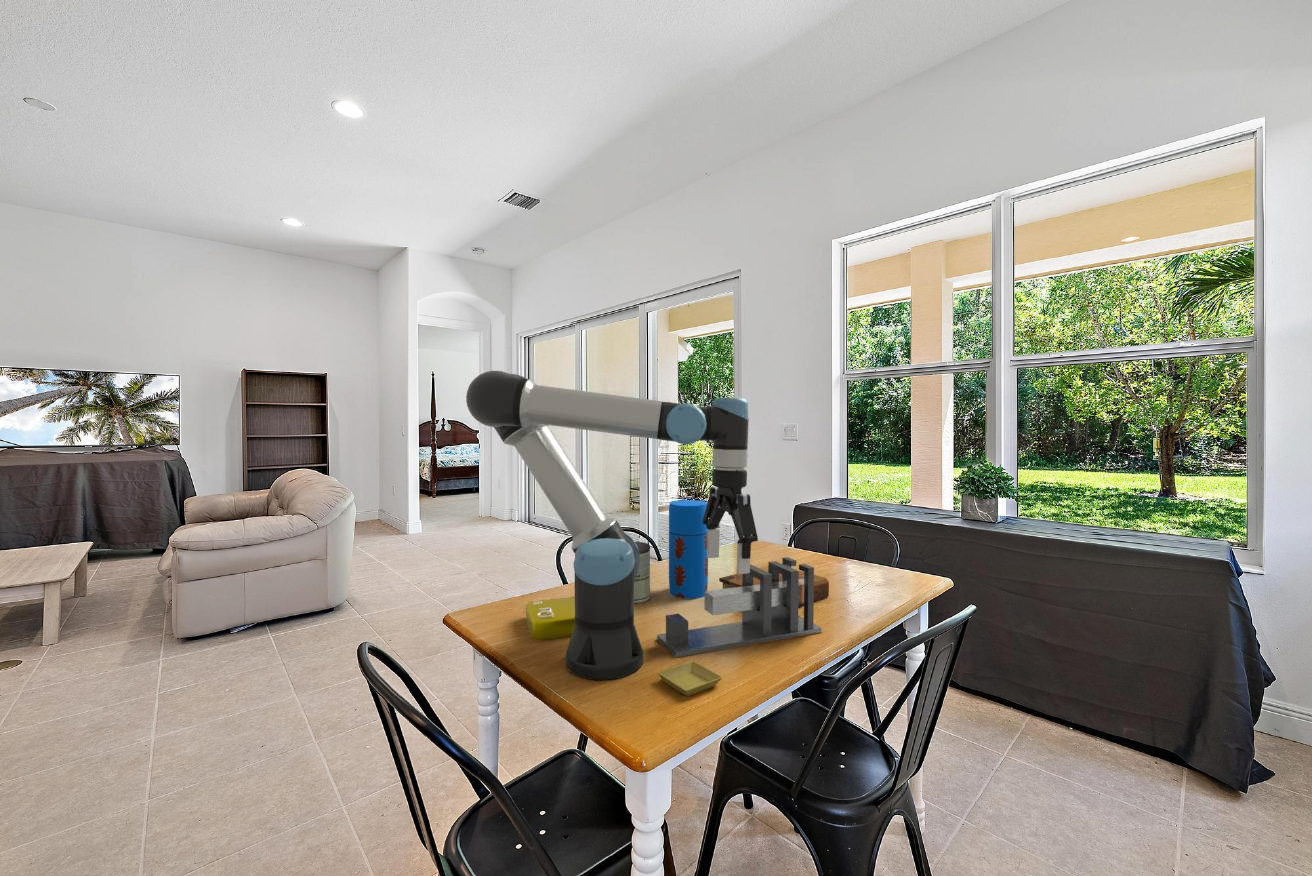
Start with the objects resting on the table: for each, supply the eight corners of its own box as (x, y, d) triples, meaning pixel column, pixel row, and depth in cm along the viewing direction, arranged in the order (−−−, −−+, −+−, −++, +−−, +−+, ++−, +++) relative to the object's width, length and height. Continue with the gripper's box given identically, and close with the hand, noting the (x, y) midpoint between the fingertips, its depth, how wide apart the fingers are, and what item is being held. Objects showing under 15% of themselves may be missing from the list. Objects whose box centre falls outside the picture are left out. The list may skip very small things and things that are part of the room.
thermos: (661, 595, 152) (662, 504, 151) (678, 584, 161) (679, 499, 160) (698, 601, 146) (698, 507, 146) (713, 590, 156) (714, 501, 155)
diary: (773, 618, 136) (773, 595, 135) (719, 599, 150) (719, 578, 150) (828, 598, 150) (829, 577, 150) (774, 582, 164) (774, 563, 164)
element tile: (600, 633, 125) (600, 612, 125) (532, 642, 120) (532, 621, 120) (585, 611, 140) (585, 593, 139) (524, 619, 134) (524, 599, 134)
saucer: (656, 682, 102) (656, 671, 102) (693, 670, 107) (693, 659, 107) (685, 702, 95) (685, 690, 95) (723, 688, 100) (723, 676, 100)
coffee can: (604, 598, 149) (604, 546, 148) (628, 589, 157) (628, 539, 156) (634, 606, 143) (634, 551, 142) (657, 595, 151) (657, 544, 150)
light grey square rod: (713, 616, 118) (713, 596, 118) (704, 609, 122) (704, 590, 122) (813, 601, 128) (813, 583, 127) (802, 595, 132) (802, 578, 131)
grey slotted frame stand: (675, 657, 112) (675, 584, 111) (657, 639, 121) (657, 571, 121) (821, 632, 125) (822, 566, 125) (794, 617, 134) (795, 556, 134)
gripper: (776, 474, 111) (773, 579, 111) (718, 463, 134) (715, 550, 135) (744, 474, 108) (741, 582, 109) (689, 463, 131) (687, 552, 132)
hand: (727, 565), depth 122 cm, fingers open, 13 cm apart
